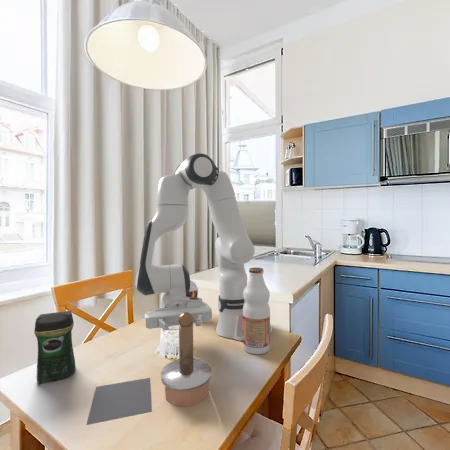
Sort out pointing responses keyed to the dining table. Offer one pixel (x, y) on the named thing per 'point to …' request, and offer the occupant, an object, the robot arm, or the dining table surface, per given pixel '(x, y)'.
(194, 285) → the smoothie
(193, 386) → the peg on round base
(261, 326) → the fruit juice
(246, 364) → the dining table surface
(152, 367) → the dining table surface
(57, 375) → the coffee jar
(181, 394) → the bowl
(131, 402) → the mat
